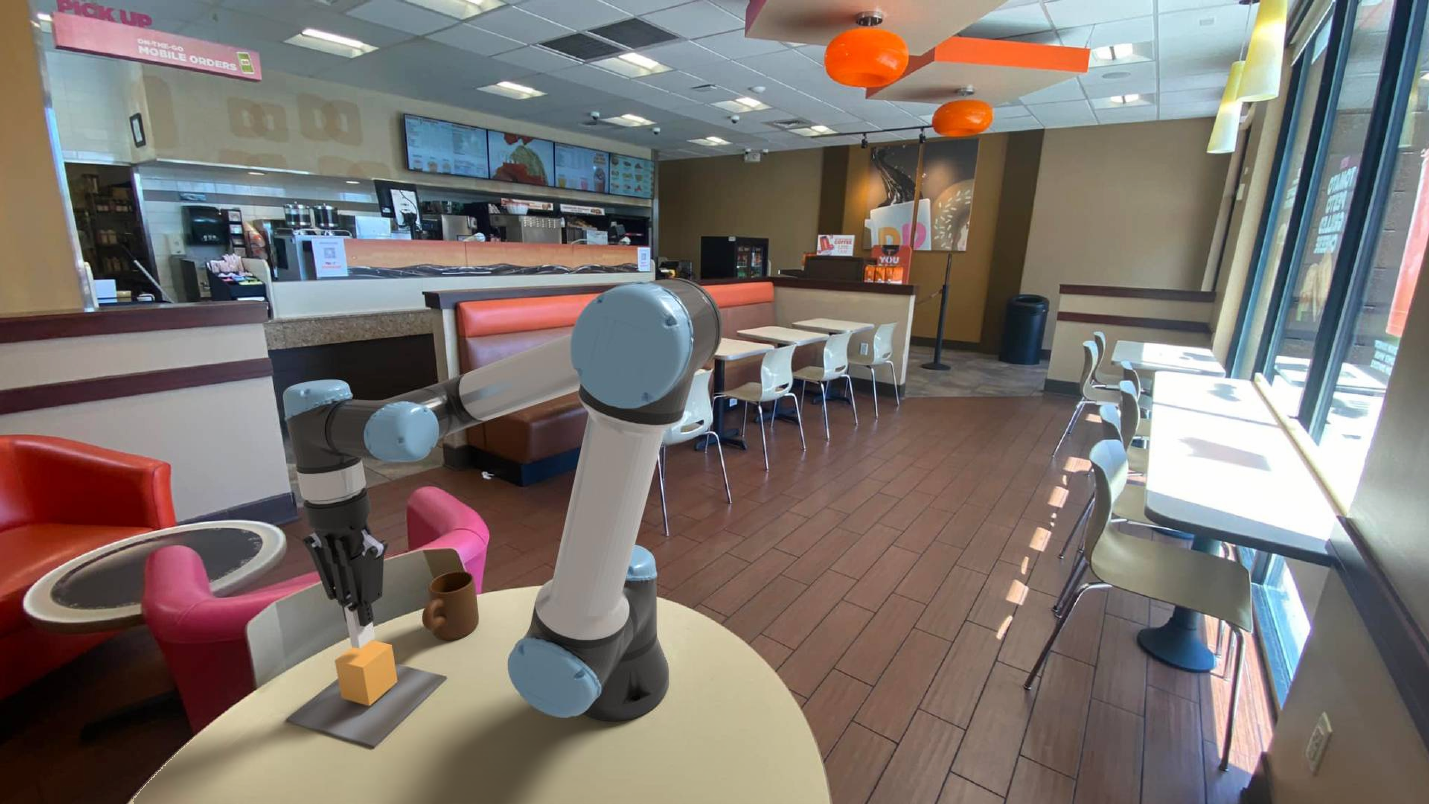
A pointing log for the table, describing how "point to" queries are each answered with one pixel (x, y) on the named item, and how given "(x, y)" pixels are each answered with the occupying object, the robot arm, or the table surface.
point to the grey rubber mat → (367, 708)
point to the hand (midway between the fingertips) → (363, 641)
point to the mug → (452, 605)
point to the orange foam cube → (366, 672)
